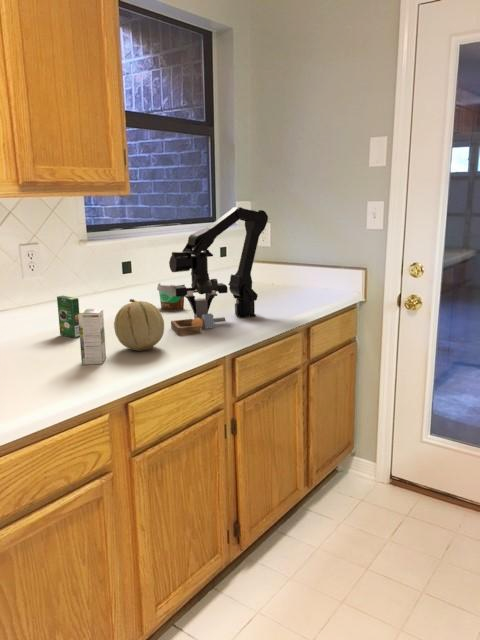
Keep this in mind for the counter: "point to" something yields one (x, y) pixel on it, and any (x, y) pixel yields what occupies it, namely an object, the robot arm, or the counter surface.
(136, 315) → the cantaloupe
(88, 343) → the syrup box
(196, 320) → the ball
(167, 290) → the food container
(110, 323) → the counter surface
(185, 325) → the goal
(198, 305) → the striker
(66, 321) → the coffee box
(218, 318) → the rail
